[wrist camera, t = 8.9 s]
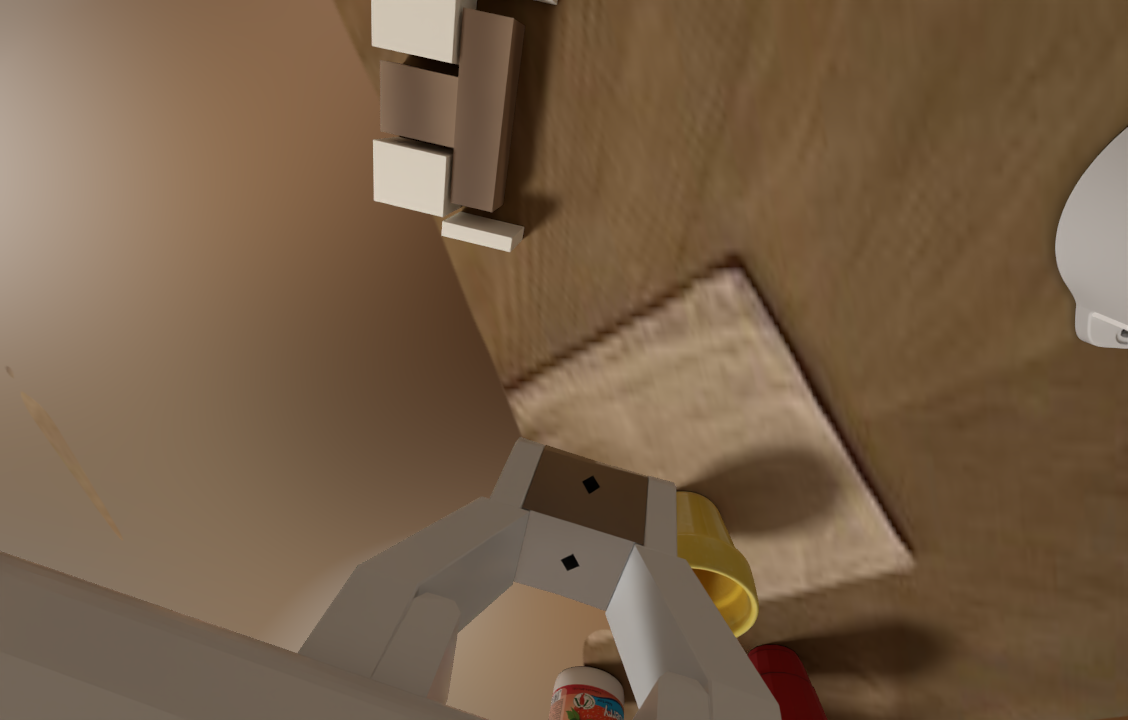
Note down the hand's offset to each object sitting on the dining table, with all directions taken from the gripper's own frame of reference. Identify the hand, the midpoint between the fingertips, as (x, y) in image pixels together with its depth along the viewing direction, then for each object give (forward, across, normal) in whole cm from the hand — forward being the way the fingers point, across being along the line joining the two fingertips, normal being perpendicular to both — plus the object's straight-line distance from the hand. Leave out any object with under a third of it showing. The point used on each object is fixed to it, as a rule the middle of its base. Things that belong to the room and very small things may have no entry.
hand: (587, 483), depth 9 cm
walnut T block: (+28, +14, -3) cm, 31 cm away
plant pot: (+28, -12, +28) cm, 41 cm away
